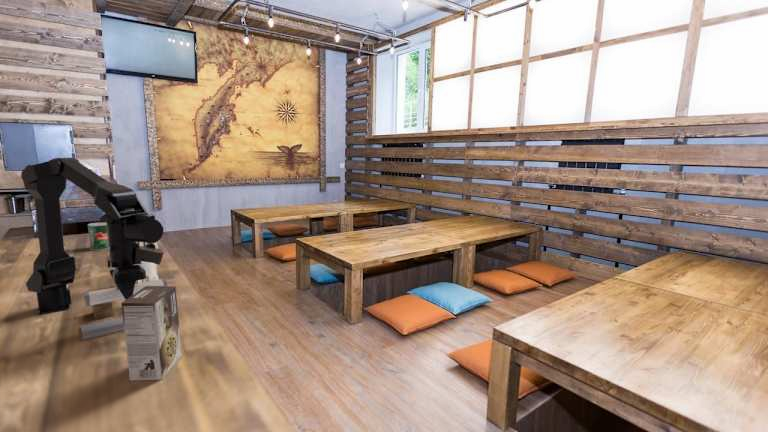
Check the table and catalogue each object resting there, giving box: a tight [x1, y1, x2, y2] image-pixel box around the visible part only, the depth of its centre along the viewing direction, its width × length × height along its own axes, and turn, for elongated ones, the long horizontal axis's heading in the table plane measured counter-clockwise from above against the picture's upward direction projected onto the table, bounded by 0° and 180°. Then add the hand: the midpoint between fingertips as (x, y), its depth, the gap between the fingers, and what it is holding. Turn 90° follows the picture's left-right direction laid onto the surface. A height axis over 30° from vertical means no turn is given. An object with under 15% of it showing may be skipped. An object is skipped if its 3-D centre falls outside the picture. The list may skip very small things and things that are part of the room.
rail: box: [84, 278, 168, 307], centre depth 98 cm, size 17×3×3 cm, turn 130°
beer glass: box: [135, 241, 159, 283], centre depth 127 cm, size 7×7×15 cm
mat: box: [80, 316, 125, 341], centre depth 99 cm, size 20×8×1 cm, turn 130°
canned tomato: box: [87, 221, 109, 251], centre depth 170 cm, size 8×8×11 cm
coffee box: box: [121, 285, 183, 382], centre depth 78 cm, size 9×6×16 cm
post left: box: [91, 301, 114, 320], centre depth 103 cm, size 4×5×5 cm
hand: (128, 299), depth 98 cm, fingers closed on rail, 3 cm apart
